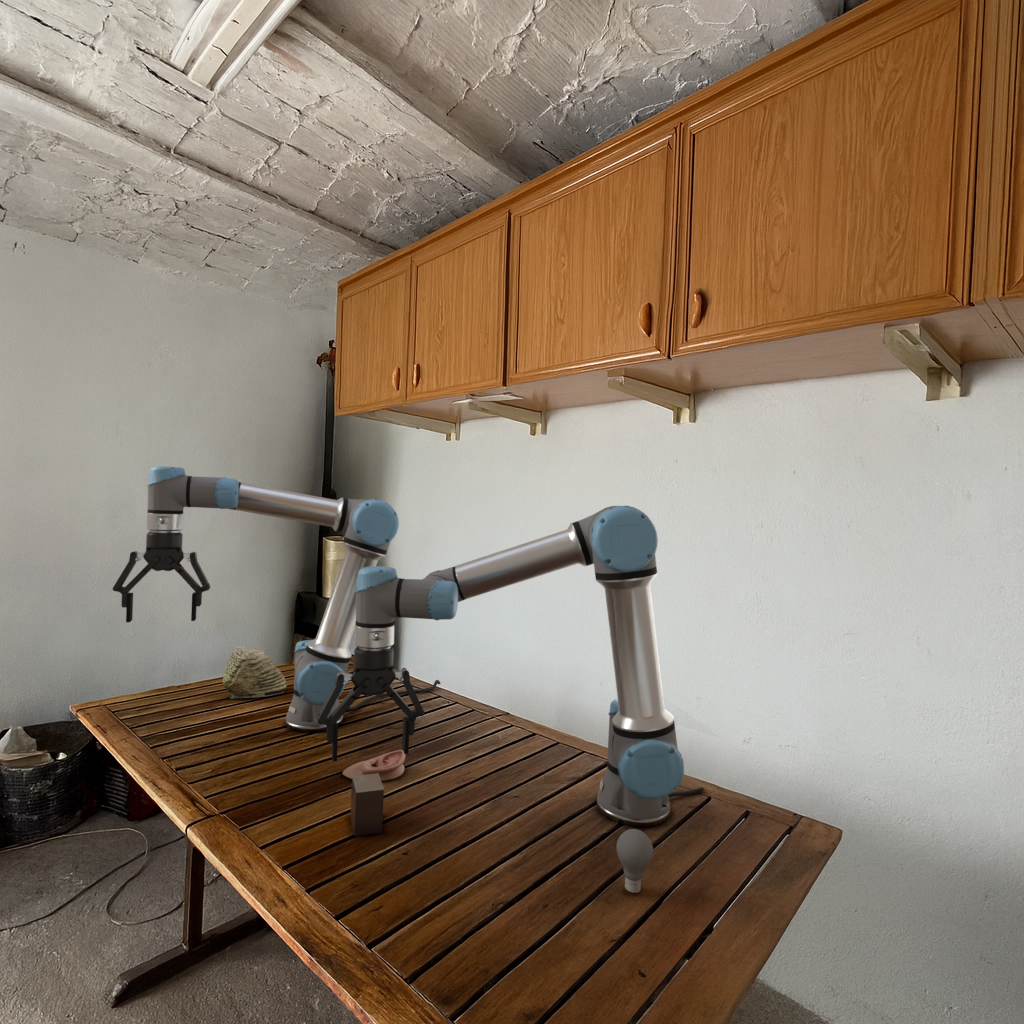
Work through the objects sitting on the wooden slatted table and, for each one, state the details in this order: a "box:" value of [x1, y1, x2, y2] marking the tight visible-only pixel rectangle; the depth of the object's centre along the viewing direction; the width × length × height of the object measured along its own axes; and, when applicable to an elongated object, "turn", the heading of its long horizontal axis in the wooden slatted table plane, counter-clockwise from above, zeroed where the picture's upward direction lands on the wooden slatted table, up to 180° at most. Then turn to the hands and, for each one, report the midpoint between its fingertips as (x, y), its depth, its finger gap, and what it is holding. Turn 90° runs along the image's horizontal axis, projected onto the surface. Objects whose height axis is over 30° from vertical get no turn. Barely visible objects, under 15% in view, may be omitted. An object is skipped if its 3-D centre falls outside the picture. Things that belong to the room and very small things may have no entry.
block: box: [350, 773, 385, 837], centre depth 123 cm, size 5×7×8 cm
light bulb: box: [615, 828, 654, 894], centre depth 106 cm, size 6×6×10 cm
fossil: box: [222, 646, 288, 699], centre depth 198 cm, size 9×18×15 cm, turn 132°
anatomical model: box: [342, 749, 406, 782], centre depth 146 cm, size 13×4×12 cm
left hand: (161, 620), depth 151 cm, fingers open, 13 cm apart
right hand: (370, 755), depth 123 cm, fingers open, 13 cm apart
